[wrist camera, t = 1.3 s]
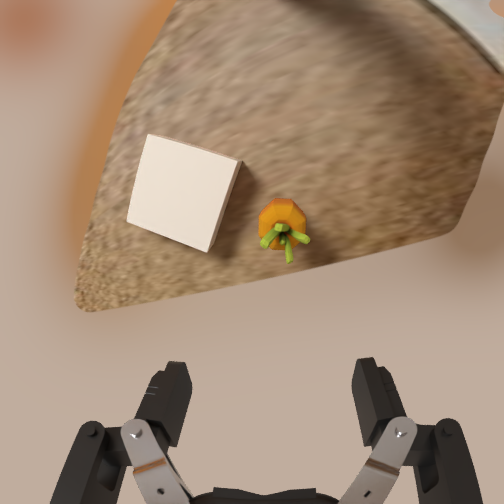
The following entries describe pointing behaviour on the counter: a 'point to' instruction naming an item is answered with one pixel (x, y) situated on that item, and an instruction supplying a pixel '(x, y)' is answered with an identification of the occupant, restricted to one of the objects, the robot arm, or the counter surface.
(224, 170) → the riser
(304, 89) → the counter surface
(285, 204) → the carrot
